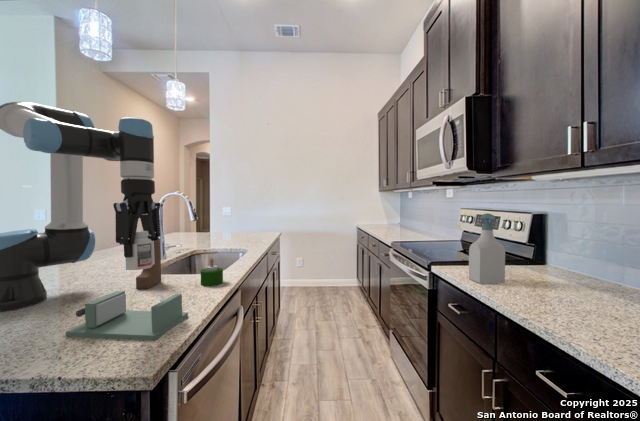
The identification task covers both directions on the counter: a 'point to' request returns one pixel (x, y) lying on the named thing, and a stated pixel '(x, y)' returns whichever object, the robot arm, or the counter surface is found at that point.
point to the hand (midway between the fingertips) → (140, 266)
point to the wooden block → (151, 271)
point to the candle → (211, 275)
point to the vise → (137, 323)
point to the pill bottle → (143, 250)
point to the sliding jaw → (103, 309)
